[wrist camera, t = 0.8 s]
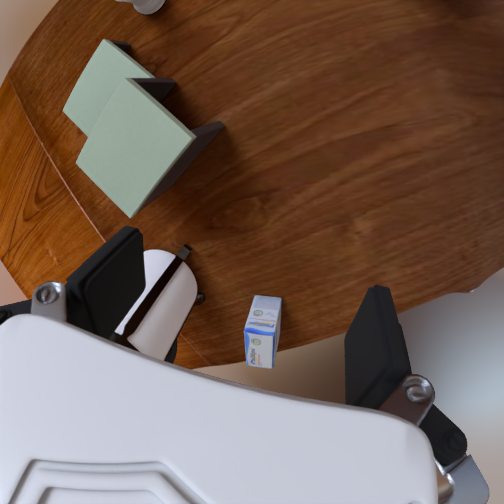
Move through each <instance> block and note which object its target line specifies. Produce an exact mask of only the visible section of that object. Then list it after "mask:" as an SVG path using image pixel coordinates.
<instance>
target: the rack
mask: <svg viewBox="0 0 504 504" xmlns="http://www.w3.org/2000/svg"><path fill="white" fill-rule="evenodd" d="M129 47H130V45H129V44H128V43H127V42H121V41H114V40H105V39H103V40H102V42H101V43H100V45H99V47H98V48H97V50H96V51H95V53H94V54H93V56H92V58H91V59H90V61H89V62H88V64H87V66H86V67H85V69H84V71H83V73H82V74H81V76H80V78H79V80H78V82H77V83H76V85H75V87H74V89H73V91H72V93H71V95H70V97H69V99H68V101H67V103H66V105H65V107H64V109H63V112H64V113H65V114H66V115H67V116H68V117H69V118H70V119H71V120H72V121H73V122H74V123H75V124H76V125H77V126H78V127H79V128H80V129H81V130H82V131H83V132H84V133H85V134H86V135H87V136H88V139H87V141H86V143H85V145H84V147H83V149H82V151H81V153H80V155H79V157H78V159H77V161H76V164H77V165H78V166H79V167H80V168H81V169H82V170H83V171H84V172H85V173H86V174H87V175H88V176H89V177H90V178H91V179H92V181H93V182H94V183H95V184H96V185H97V186H98V187H99V188H100V189H101V190H102V191H103V192H104V193H105V194H106V195H107V196H108V197H109V198H110V199H111V200H112V201H113V202H114V203H115V204H116V205H117V206H118V207H119V208H120V209H121V210H122V211H123V212H124V213H125V214H126V215H127V216H129V217H130V218H132V217H133V216H134V215H135V214H137V213H138V212H139V211H140V210H142V209H143V208H144V207H146V206H147V205H148V204H149V203H151V202H152V201H153V200H155V199H156V198H157V197H159V196H160V195H161V194H163V193H164V192H165V191H167V190H168V189H169V188H171V187H172V186H173V184H174V183H175V182H176V181H177V180H178V178H179V177H180V176H181V175H182V174H183V172H184V171H185V170H186V169H187V168H188V167H189V165H190V164H191V163H192V162H193V161H194V160H195V159H196V157H197V156H198V155H199V154H200V153H201V152H202V151H203V150H204V148H205V147H206V146H207V145H208V144H209V143H210V142H211V141H212V140H213V138H214V137H215V136H216V135H217V134H218V133H219V132H220V131H221V130H222V129H223V128H224V127H225V125H224V124H223V123H221V122H220V121H218V122H215V123H211V124H208V125H205V126H202V127H199V128H195V129H192V130H189V129H188V128H187V127H185V126H184V125H183V124H182V123H181V122H180V121H179V120H178V119H177V118H176V117H174V116H173V115H172V114H171V113H170V112H169V111H168V110H167V109H166V108H164V107H163V106H162V105H161V104H160V103H161V102H162V101H163V99H164V98H165V97H166V95H167V94H168V93H169V92H170V90H171V89H172V88H173V87H174V85H175V84H176V82H175V81H174V80H173V79H166V78H155V77H154V76H153V75H152V74H151V73H149V72H148V71H147V70H146V69H145V68H143V67H142V66H141V65H140V64H138V63H137V62H136V61H135V60H133V59H132V58H131V57H130V56H129V55H127V54H126V53H125V52H126V51H127V50H128V48H129Z"/></svg>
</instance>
